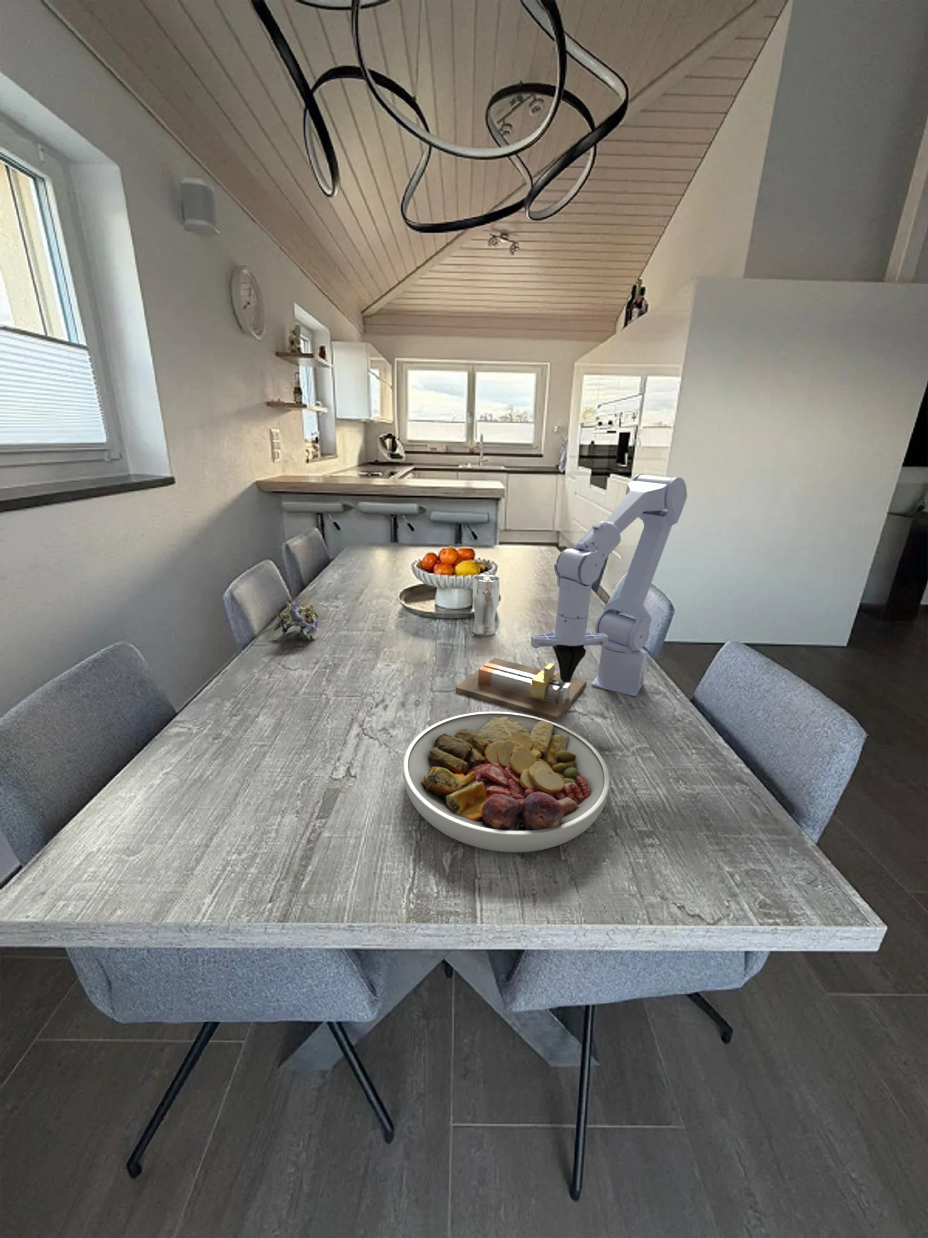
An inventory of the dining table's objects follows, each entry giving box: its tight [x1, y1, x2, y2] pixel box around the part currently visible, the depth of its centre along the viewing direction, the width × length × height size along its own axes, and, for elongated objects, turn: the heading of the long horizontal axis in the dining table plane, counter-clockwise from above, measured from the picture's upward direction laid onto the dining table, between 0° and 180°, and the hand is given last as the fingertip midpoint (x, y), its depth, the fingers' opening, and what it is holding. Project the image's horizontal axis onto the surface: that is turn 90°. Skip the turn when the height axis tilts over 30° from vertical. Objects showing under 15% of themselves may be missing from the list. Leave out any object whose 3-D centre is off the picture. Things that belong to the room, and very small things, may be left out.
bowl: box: [402, 711, 611, 853], centre depth 78 cm, size 30×30×8 cm
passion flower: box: [273, 601, 319, 642], centre depth 132 cm, size 11×11×12 cm
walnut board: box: [455, 657, 587, 722], centre depth 111 cm, size 22×18×1 cm
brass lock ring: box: [529, 662, 556, 700], centre depth 104 cm, size 3×6×6 cm, turn 151°
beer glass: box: [472, 574, 500, 637], centre depth 139 cm, size 7×7×15 cm
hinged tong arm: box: [483, 662, 564, 699], centre depth 108 cm, size 17×2×3 cm, turn 61°
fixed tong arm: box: [478, 665, 571, 706], centre depth 107 cm, size 18×4×3 cm, turn 61°
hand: (565, 680), depth 102 cm, fingers closed
